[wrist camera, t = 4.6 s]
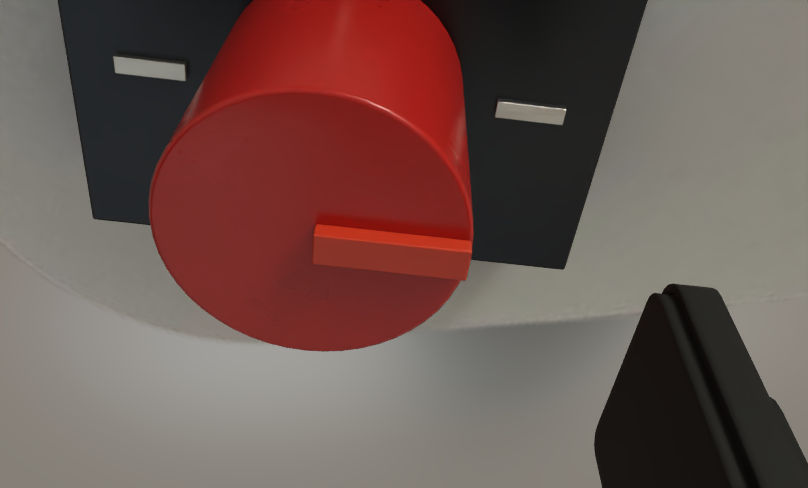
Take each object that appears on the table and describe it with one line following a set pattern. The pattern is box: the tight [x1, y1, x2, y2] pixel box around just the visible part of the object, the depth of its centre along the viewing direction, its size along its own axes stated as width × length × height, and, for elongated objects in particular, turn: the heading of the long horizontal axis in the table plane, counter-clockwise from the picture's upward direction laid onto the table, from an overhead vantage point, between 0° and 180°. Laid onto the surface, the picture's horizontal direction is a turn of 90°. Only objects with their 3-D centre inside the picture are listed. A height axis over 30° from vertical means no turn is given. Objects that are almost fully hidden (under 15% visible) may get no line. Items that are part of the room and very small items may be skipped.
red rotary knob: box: [149, 0, 474, 351], centre depth 13 cm, size 5×5×5 cm
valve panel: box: [58, 0, 648, 269], centre depth 16 cm, size 11×9×3 cm
